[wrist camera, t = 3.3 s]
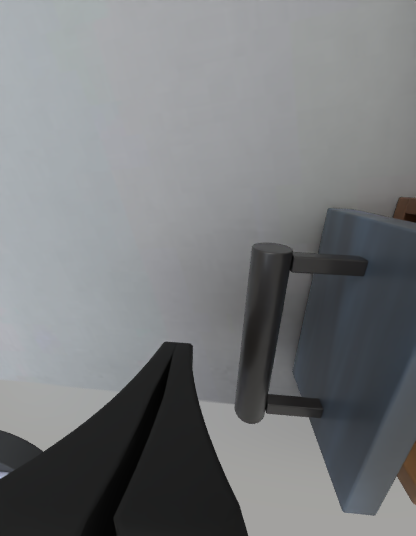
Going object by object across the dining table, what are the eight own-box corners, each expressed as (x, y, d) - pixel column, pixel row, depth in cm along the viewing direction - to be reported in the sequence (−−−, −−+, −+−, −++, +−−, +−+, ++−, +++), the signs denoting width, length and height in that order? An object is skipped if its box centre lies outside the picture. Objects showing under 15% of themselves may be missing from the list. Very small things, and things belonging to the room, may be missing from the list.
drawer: (230, 366, 15) (235, 501, 9) (245, 204, 11) (272, 233, 5) (462, 385, 14) (652, 547, 8) (559, 218, 10) (1056, 271, 4)
